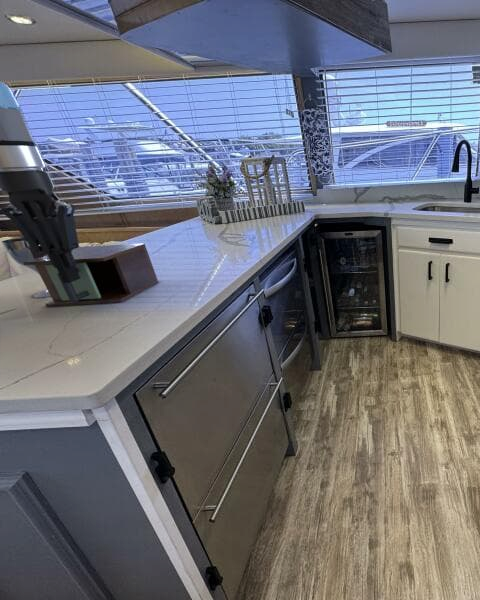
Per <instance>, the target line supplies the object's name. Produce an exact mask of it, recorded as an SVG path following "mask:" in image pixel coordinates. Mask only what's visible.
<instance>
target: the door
mask: <svg viewBox="0 0 480 600" xmlns="http://www.w3.org/2000/svg"><path fill="white" fill-rule="evenodd" d="M45 267H46V269H47V271H48V273H49V275H50V277H51V279H52V281H53V283H54V285H55V287H56V289H57V291H58V293H59V295H60V297H61V299H62V301H65V300H70V302H76V301H79V300H82V299H99V298H101V295H100V293H99V291H98V288H97V286H96V284H95V282H94V279H93V277H92V275H91V273H90V271H89V268H88V266H87V264H86V262H78V263H76V266H75V267H76V270H77V272H78V274H79V276H80V278H81V279H78V280H76V281H73V282H71V283H63V280H62V278H61V276H60V274H59V272H58V270H57V268H54V267H53V265H52V264H46V265H45Z"/></svg>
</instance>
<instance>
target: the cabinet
mask: <svg viewBox="0 0 480 600" xmlns="http://www.w3.org/2000/svg"><path fill="white" fill-rule="evenodd" d="M71 253H72V255H73V257H74V259H75V262H76V263H78V262H86V264H87V266H88V268H89V271H90V273H91V275H92V277H93V279H94V282H95V284H96V286H97V288H98V291H99V293H100V295H101V298H99V299H82V300H79V301H76V302H70V300H65V301H62V299H61V297H60V295H59V293H58V291H57V289H56V287H55V285H54V283H53V281H52V279H51V277H50V275H49V273H48V271H47V269H46V267H45V265H46V264H52V263H51V261H50V259H49V257H48V255H47V256H43V257H39V258H36V259H32V260H29V261H25V262H23V264H24V265H35V266H36V268H37V270H38V272H39V274H40V275H39V274H38V275H39V276H40V278H41V280H42V282H43V283H44V285H45V287H46V290H48V291H49V293H50V295H51V296H50V298H51V299H52V300H50V301H48V302H45V303H44V305H45V307H47V308H49V307H64V306H80V305H97V304H113V303H114V304H115V303H123V302H125V301H127V300H128V299H130V298H132V297H134V296H136V295H138V294H139V293H141V292H143V291H145V290H147V289H148V288H150V287H152V286H154V285H156V284H158V283H159V280H158V277H157V274H156V271H155V269H154V267H153V266H154V265H153V262H152V261H151V258H150V254H149V251H148V249H147V247H146V244H145V243H128V244H127V243H126V244H108V245H89V246H79V247H78V248H76V249H73V250H72V251H71Z"/></svg>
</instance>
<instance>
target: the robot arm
mask: <svg viewBox="0 0 480 600" xmlns="http://www.w3.org/2000/svg"><path fill="white" fill-rule="evenodd" d="M45 167H46V165H45V163H44V161H43V159H42V155H41V154H40V151H39V149H38V147H37V144H36V143H35V140H34V138H33V136H32V133H31V131H30V128H29V126H28V124H27V121H26V119H25V117H24V114H23V111H22V108H21V106H20V105H19V103H18V101H17V99H16V97H15V95H14V94H13V91H12V90H11V88H10V87H9V86H8V85H7V84H6V83H4V82H3V81H0V190H1V191H2V192H4V193H7V195H8V202H9V204H8V205H7V206H6V207H1V208H0V212H1V213H2V214H3V215H5V217H7V218H8V219H9V220H10V221H11V222H12V224H13V225H14V226H15V227H16V229H17V230H18V231H19V233H20V234H21V235H22V237H24V238H25V239H26V240H27V242H28V243H29V244H30V246H31V247H32V248H33V249H34V251H36V252H43V253H45V254H47V255H48V257H49V259H50V261H51V263H52V265H53V267H54V268H57V270H58V272H59V274H60V276H61V278H62V280H63V283H71V282H73V281H76V280H78V279H81V278H80V276H79V274H78V272H77V270H76V267H75V266H76V262H75V259H74V257H73V255H72V253H71V251H72V250H73V249H76V248H78V247H80V244H79V239H78V233H77V227H76V222H75V217H74V214H75V211H76V206H75V205H74V204H72V203H68V204H67V203H66V202H63V201H61V200H60V198H59V197H58V195H56V194H55V192H54V189H55V185H54V183H53V181H52V178H51V176H50V173H49V172H47V171H46V170H43V169H44V168H45ZM39 245H40V246H39Z"/></svg>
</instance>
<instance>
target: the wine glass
mask: <svg viewBox="0 0 480 600" xmlns="http://www.w3.org/2000/svg"><path fill="white" fill-rule="evenodd" d="M1 243H2V246H3V247H4V249H5V250H6V252H7V254H9V256H10V257H11V258H12V259H13V261H15V262H16V263H17V264H18V265H20V266H23V267H25V268H27V269H30V270H32V271H34V272H35V273H37V274H38V275H39V276H40V274H39V272H38V270H37V268H36V266H35V265H24V264H23V262H25V261H29V260H32V259H36V258H39V257H43V256H47V254H45V253H43V252H36V251H34V249H33V248H32V247H31V246H30V244H29V243H28V242H27V240H26V239H25V238H24V236H20V237H14V238H8V239H4V240H2V241H1ZM39 246H40V245H39ZM47 297H51V295H50V293H49V291H48V290H47V289H45V290H44V291H41V292H38V293H36V294H34V295H33V298H35V299H36V298H37V299H39V298H40V299H41V298H42V299H43V298H47Z"/></svg>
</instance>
